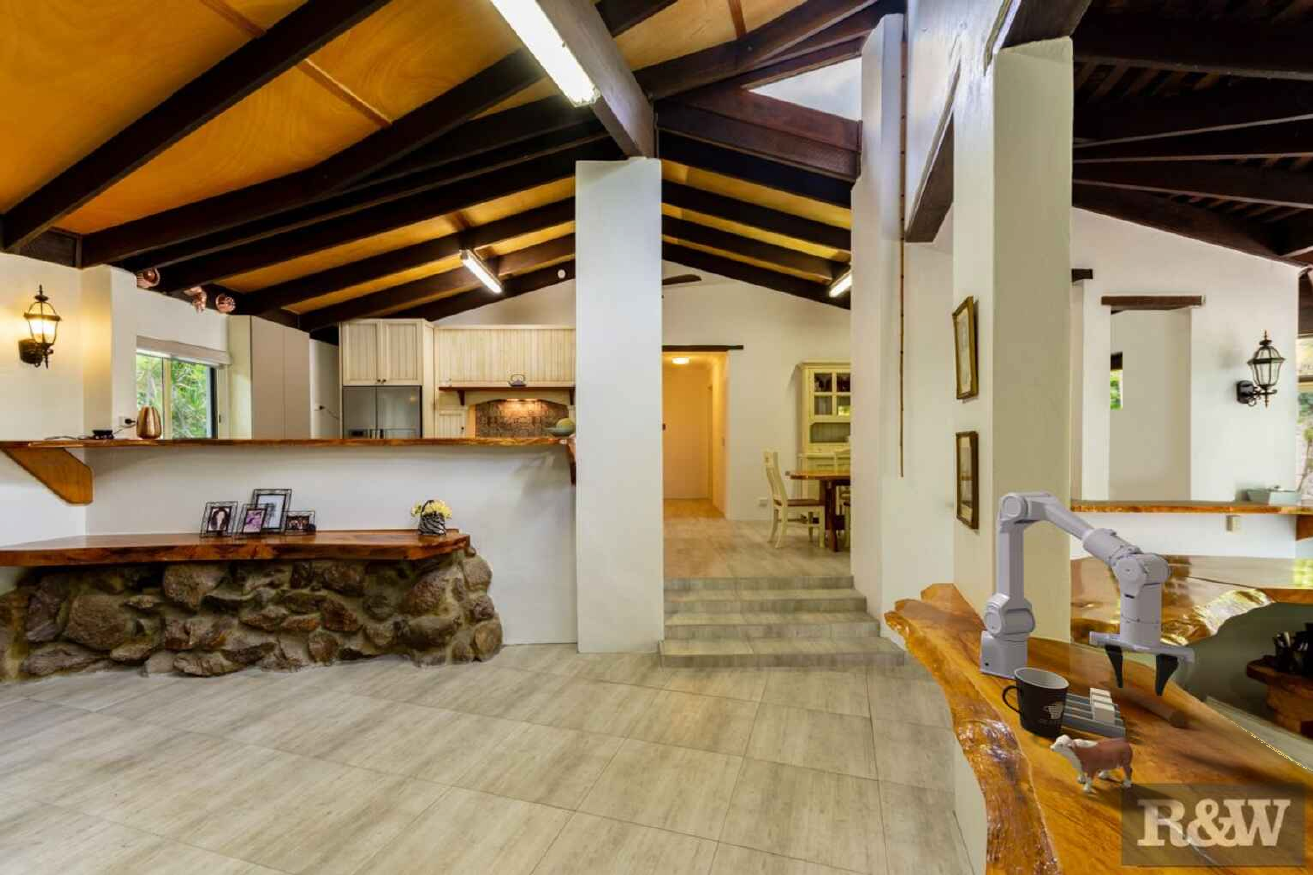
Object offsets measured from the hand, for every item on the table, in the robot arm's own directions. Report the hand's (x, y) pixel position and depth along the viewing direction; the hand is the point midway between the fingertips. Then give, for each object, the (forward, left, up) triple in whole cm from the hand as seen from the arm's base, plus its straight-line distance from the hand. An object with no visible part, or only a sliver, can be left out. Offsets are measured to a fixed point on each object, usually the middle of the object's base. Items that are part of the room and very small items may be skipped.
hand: (1138, 690), depth 102 cm
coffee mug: (-17, -6, -10) cm, 20 cm away
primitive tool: (+2, +19, -10) cm, 21 cm away
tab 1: (-5, +7, -8) cm, 12 cm away
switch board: (-7, +4, -9) cm, 12 cm away
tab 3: (-5, 0, -8) cm, 9 cm away
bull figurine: (-8, -21, -10) cm, 24 cm away
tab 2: (-5, +4, -8) cm, 10 cm away
